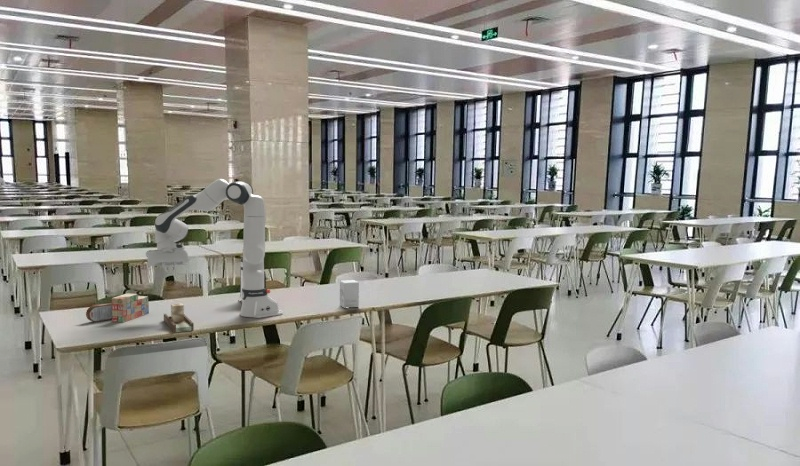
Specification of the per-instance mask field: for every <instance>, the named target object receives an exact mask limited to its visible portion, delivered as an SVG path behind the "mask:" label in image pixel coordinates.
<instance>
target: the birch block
mask: <svg viewBox="0 0 800 466" xmlns="http://www.w3.org/2000/svg"><path fill="white" fill-rule="evenodd" d="M184 314H185V306H184V304H183V303H181V302H180V303H171V304H170V316H171V320H172V321H173V322H181V321H184Z"/></svg>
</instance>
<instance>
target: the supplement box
mask: <svg viewBox="0 0 800 466" xmlns="http://www.w3.org/2000/svg"><path fill="white" fill-rule="evenodd" d="M359 289H360V282H359V281H357V280H355V279H348V280H346V279H344V280H339V306H340V305H341V306H342V307H344V308H346V307H360V306H359V302H360V299H359V298H360V294H359V293H360V291H359ZM341 306H340V307H341ZM342 307H341V308H342ZM344 308H343V309H344Z"/></svg>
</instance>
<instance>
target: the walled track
mask: <svg viewBox="0 0 800 466" xmlns="http://www.w3.org/2000/svg"><path fill="white" fill-rule="evenodd" d="M163 321H164V323H165V324H166V325H167V327H168V328H169V329H170V330H171V331H172V332H173V333H180V332H190V331H194V330H195V327H194V324H195V323H194V322H193V321H192V319H191V320H190V318H189V317H188V316H187V315H186V314H185V313H184V321H181V322H173V321H172V320H171V315H170V316H168V314H167V313H163Z"/></svg>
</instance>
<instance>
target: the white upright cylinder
mask: <svg viewBox="0 0 800 466" xmlns="http://www.w3.org/2000/svg"><path fill="white" fill-rule="evenodd" d="M239 262H240V272H239V273H240V276H239V277H240V279H239V281H240V289H239V291H240V293H239V294H240V295H239V298H240V299H241V300H240V299H238V300H237V301H238V302H239V301H240V302H242V300H243V299H242V288H243V256H241V258H240V259H239ZM266 281H267V277H266V271H265V270H264V288H266V289H267V282H266Z"/></svg>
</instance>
